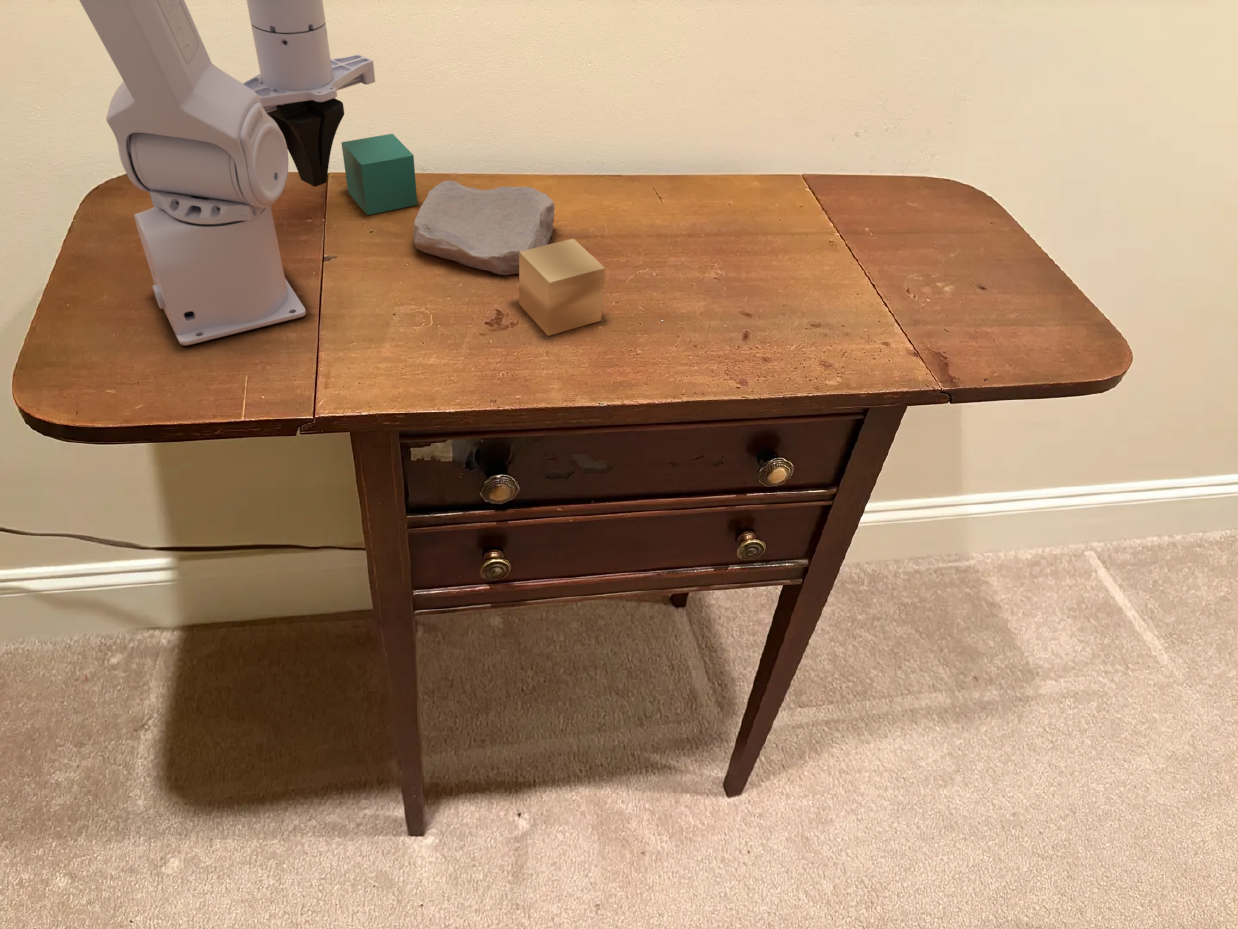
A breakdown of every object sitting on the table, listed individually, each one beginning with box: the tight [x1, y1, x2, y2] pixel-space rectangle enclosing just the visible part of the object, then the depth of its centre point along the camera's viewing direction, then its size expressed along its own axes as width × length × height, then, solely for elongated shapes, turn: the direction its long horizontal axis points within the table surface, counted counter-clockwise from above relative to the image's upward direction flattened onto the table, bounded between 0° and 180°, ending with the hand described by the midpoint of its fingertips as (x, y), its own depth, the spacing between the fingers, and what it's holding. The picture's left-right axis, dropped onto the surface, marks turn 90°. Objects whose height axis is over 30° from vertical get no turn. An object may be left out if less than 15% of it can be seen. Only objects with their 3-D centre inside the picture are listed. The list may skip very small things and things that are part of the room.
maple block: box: [518, 238, 606, 337], centre depth 74 cm, size 5×5×5 cm
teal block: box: [341, 133, 418, 216], centre depth 86 cm, size 5×5×5 cm
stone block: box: [412, 180, 556, 276], centre depth 82 cm, size 12×5×10 cm
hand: (314, 180), depth 83 cm, fingers closed
